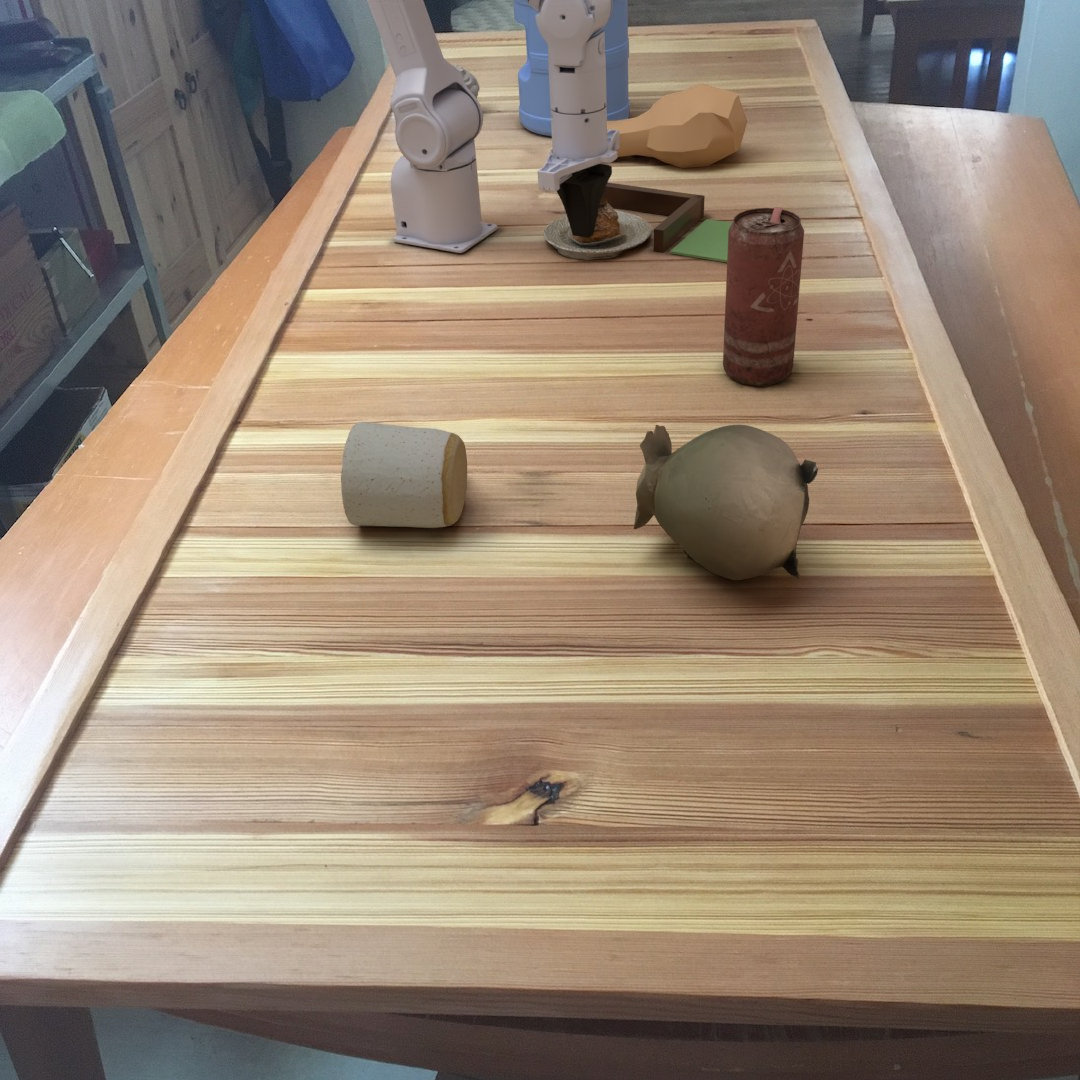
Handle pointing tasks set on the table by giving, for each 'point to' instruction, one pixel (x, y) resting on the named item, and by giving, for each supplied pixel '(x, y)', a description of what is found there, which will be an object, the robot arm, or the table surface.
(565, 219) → the pastry
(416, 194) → the robot arm
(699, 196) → the corner guide
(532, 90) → the water jug
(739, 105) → the squash
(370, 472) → the ceramic mug
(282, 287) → the table surface
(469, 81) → the frog figurine
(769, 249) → the can
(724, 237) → the green rag
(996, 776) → the table surface
